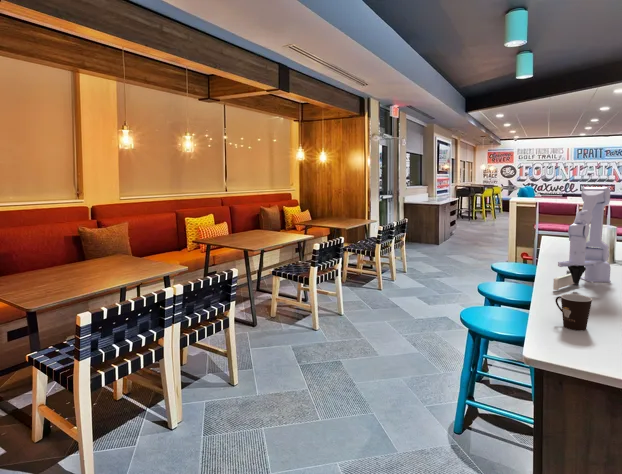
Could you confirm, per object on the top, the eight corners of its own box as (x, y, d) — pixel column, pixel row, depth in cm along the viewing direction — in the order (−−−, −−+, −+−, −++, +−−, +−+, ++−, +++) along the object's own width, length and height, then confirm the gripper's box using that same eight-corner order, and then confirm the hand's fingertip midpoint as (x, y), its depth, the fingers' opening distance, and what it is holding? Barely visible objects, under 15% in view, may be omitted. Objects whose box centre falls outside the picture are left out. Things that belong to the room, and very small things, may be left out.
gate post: (564, 280, 196) (565, 268, 195) (570, 280, 196) (570, 268, 195) (574, 285, 188) (574, 272, 187) (579, 285, 187) (580, 272, 187)
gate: (571, 283, 188) (572, 272, 188) (575, 284, 187) (576, 273, 186) (553, 289, 180) (553, 278, 179) (557, 290, 178) (557, 278, 178)
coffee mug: (595, 332, 132) (597, 301, 130) (565, 331, 134) (566, 301, 132) (579, 320, 143) (581, 292, 142) (552, 319, 145) (553, 291, 143)
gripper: (564, 253, 174) (562, 285, 176) (601, 253, 172) (599, 285, 174) (556, 250, 181) (554, 281, 183) (591, 250, 179) (589, 280, 181)
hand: (575, 282), depth 179 cm, fingers closed
